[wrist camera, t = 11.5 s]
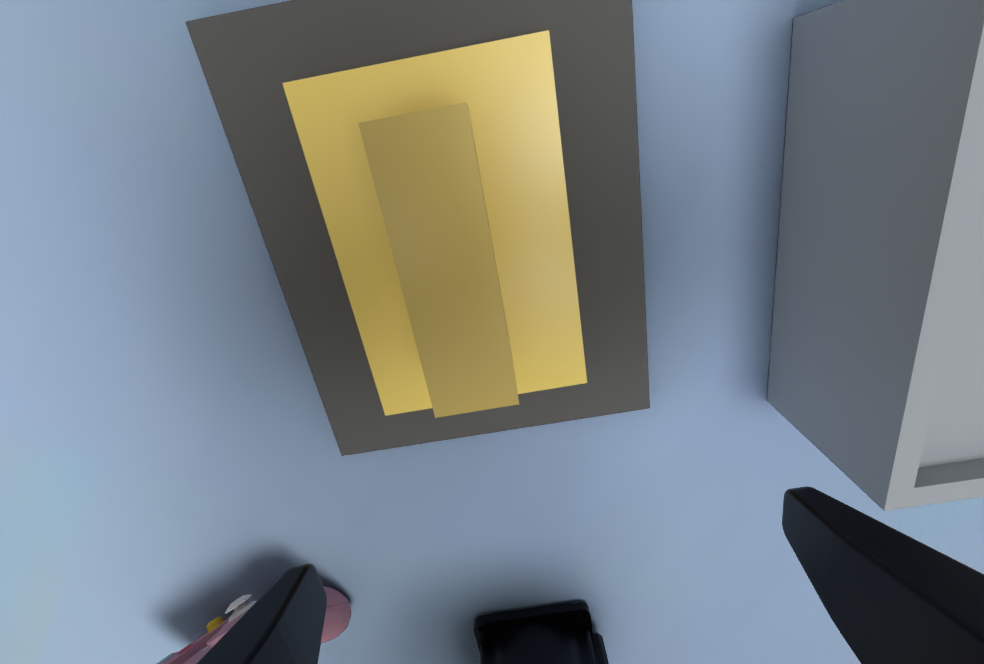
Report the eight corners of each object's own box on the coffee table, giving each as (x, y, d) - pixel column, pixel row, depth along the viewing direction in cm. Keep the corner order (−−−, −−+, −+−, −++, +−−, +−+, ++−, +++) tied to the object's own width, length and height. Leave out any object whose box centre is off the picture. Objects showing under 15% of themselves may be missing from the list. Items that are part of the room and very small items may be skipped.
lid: (389, 402, 20) (366, 471, 16) (294, 86, 16) (226, 69, 12) (582, 371, 20) (608, 433, 16) (544, 36, 15) (568, 0, 11)
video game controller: (323, 537, 26) (223, 612, 20) (365, 611, 26) (277, 715, 19) (204, 613, 28) (77, 704, 22) (241, 683, 28) (121, 799, 21)
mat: (345, 447, 22) (341, 455, 22) (195, 25, 15) (185, 21, 15) (645, 401, 21) (649, 408, 21) (623, -60, 15) (629, -67, 14)
